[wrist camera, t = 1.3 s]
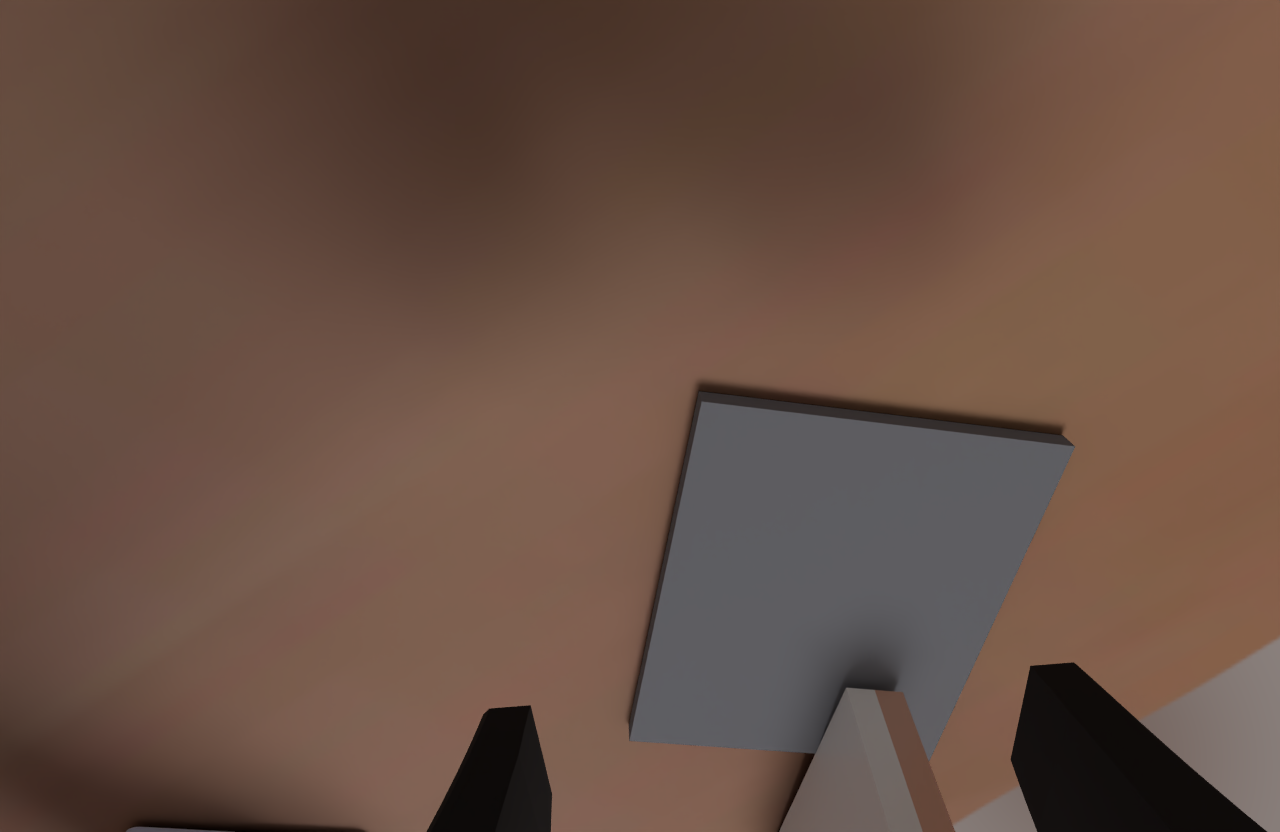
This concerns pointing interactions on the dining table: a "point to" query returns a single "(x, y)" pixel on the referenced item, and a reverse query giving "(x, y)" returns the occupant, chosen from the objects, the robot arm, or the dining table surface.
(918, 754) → the tile
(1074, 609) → the dining table surface
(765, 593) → the mat
